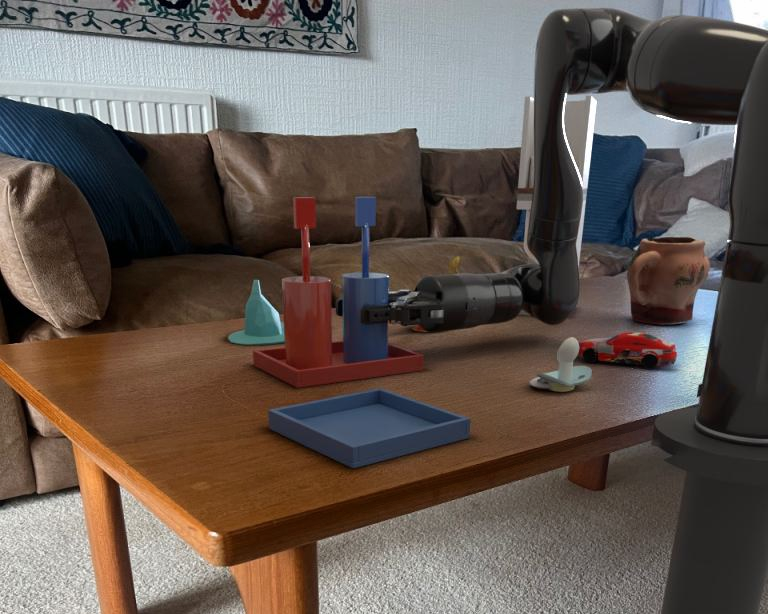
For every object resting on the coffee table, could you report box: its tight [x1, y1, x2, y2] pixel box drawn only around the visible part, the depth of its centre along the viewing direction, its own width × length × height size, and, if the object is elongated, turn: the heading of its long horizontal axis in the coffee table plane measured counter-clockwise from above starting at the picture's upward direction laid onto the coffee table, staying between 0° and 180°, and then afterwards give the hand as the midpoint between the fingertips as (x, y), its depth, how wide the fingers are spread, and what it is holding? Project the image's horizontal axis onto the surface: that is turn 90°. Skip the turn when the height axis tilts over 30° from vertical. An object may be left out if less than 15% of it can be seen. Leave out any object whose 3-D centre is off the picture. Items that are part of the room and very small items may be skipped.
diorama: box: [227, 279, 285, 346], centre depth 121 cm, size 12×20×9 cm, turn 149°
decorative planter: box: [626, 236, 711, 325], centre depth 133 cm, size 20×12×14 cm, turn 137°
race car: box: [577, 331, 678, 370], centre depth 106 cm, size 13×5×4 cm, turn 64°
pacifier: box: [529, 336, 593, 393], centre depth 93 cm, size 7×6×6 cm
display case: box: [516, 95, 598, 316], centre depth 138 cm, size 11×11×35 cm
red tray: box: [252, 340, 425, 389], centre depth 102 cm, size 18×13×2 cm
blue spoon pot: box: [341, 196, 390, 364], centre depth 100 cm, size 6×6×20 cm
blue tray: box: [267, 387, 471, 469], centre depth 77 cm, size 14×14×2 cm
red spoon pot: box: [281, 196, 333, 370], centre depth 96 cm, size 6×6×20 cm
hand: (349, 311), depth 100 cm, fingers closed on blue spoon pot, 6 cm apart
